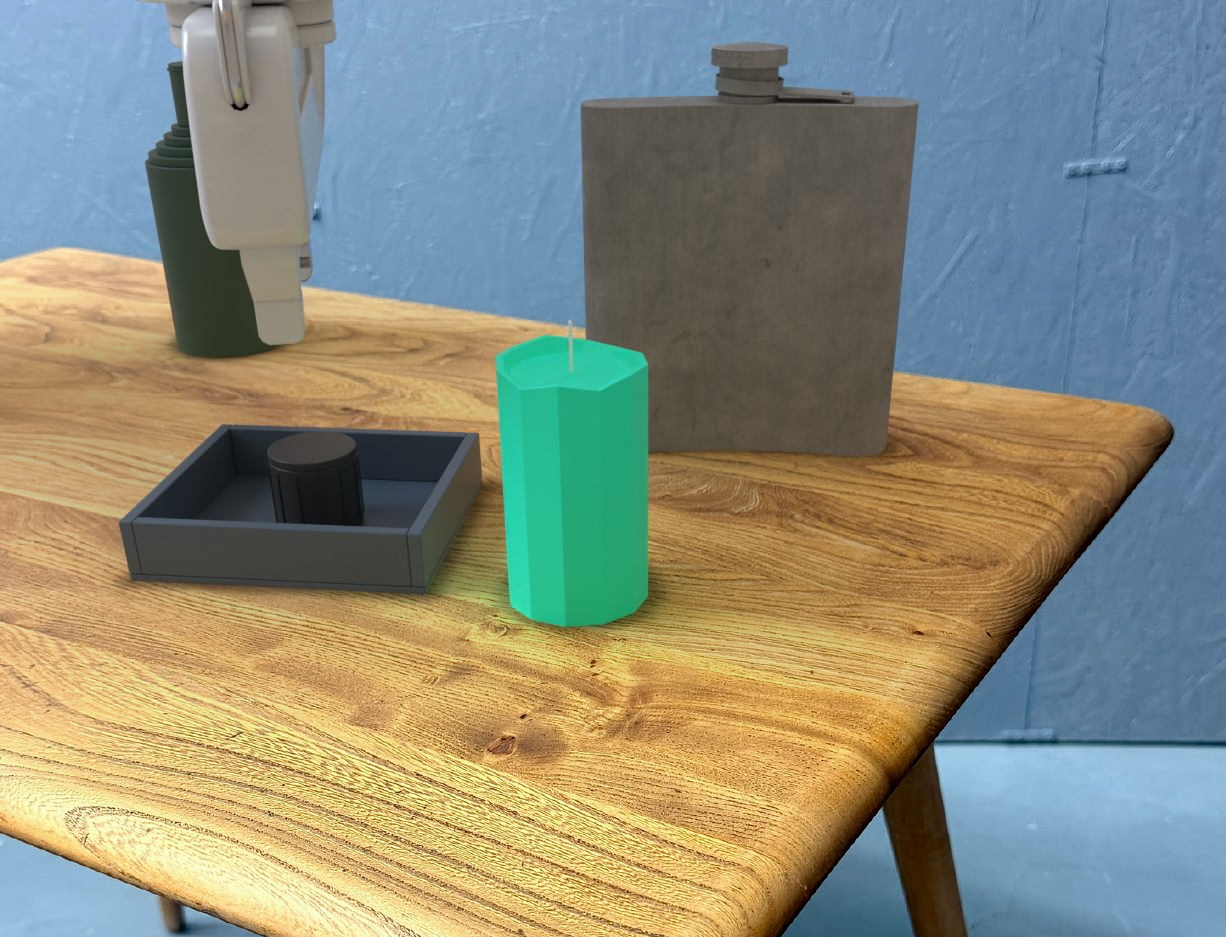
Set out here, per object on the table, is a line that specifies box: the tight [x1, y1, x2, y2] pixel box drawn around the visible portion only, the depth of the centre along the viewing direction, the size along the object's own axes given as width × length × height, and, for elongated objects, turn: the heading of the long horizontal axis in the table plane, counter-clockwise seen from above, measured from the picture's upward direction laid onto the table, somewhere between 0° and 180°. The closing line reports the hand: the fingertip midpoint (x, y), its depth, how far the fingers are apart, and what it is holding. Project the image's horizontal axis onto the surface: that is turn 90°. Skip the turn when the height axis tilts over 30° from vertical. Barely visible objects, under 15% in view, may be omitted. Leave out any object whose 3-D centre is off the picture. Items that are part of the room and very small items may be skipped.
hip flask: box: [579, 41, 920, 458], centre depth 66 cm, size 16×4×20 cm, turn 87°
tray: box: [118, 423, 483, 596], centre depth 61 cm, size 13×12×3 cm
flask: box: [144, 60, 284, 359], centre depth 83 cm, size 7×7×18 cm
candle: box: [494, 319, 649, 628], centre depth 53 cm, size 6×6×12 cm
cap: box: [267, 432, 365, 526], centre depth 60 cm, size 4×4×4 cm
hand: (289, 306), depth 56 cm, fingers open, 8 cm apart
